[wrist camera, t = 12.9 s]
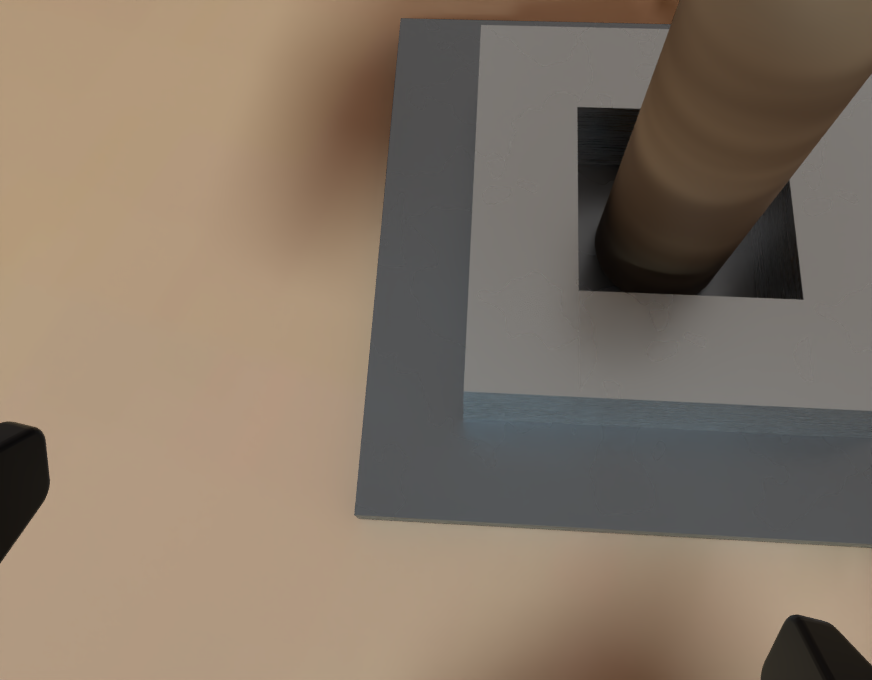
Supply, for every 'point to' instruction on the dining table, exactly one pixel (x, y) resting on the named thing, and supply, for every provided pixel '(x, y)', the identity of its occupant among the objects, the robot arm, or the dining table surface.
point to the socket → (604, 313)
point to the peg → (726, 132)
